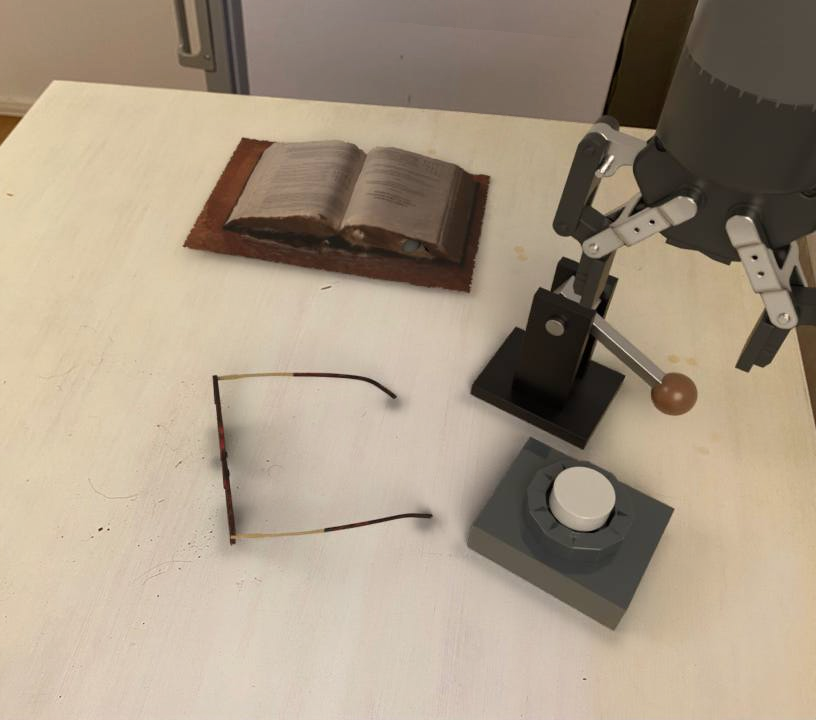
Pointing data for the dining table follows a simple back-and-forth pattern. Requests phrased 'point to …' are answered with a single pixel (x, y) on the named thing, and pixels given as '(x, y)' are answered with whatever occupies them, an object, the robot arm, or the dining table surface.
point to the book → (346, 211)
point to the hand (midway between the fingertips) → (665, 329)
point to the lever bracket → (554, 366)
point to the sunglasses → (227, 474)
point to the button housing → (569, 536)
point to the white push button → (582, 499)
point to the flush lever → (641, 363)
